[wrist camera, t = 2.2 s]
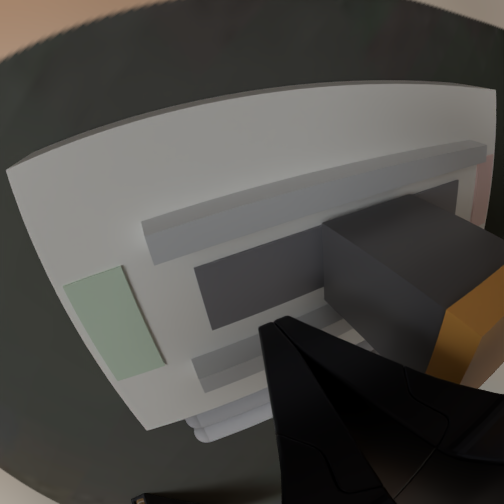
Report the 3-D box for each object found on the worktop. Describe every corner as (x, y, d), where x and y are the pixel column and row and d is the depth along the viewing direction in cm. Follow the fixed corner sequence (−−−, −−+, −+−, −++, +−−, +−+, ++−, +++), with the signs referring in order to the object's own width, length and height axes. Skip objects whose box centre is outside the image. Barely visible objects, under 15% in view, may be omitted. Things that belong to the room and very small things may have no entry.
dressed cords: (424, 290, 20) (438, 300, 19) (416, 323, 22) (429, 334, 21) (178, 404, 16) (185, 424, 15) (194, 431, 17) (201, 449, 16)
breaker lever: (413, 187, 11) (554, 258, 6) (406, 264, 12) (517, 346, 8) (316, 218, 10) (482, 336, 5) (319, 305, 11) (435, 426, 6)
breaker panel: (452, 82, 14) (511, 93, 10) (442, 250, 19) (486, 278, 16) (33, 151, 8) (-8, 179, 5) (136, 380, 14) (151, 449, 11)
